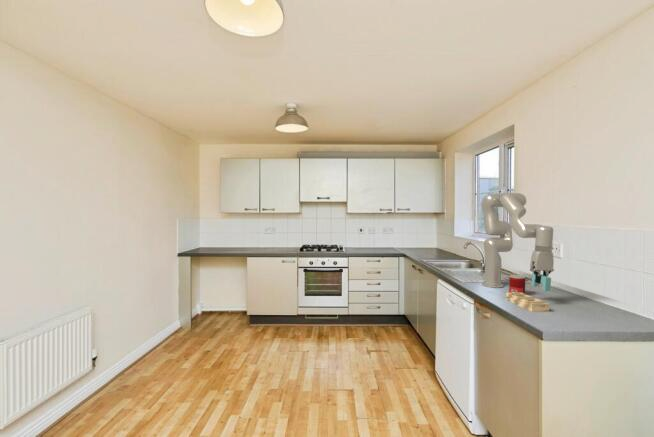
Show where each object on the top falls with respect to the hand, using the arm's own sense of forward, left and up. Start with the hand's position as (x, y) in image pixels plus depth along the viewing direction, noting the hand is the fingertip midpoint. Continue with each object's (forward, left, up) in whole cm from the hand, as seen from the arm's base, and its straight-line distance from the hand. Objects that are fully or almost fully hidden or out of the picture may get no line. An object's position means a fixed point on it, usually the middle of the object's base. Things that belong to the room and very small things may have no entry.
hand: (540, 282), depth 169 cm
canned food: (-16, -2, -11) cm, 20 cm away
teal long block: (0, 0, -3) cm, 3 cm away
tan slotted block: (+4, -11, -11) cm, 16 cm away
